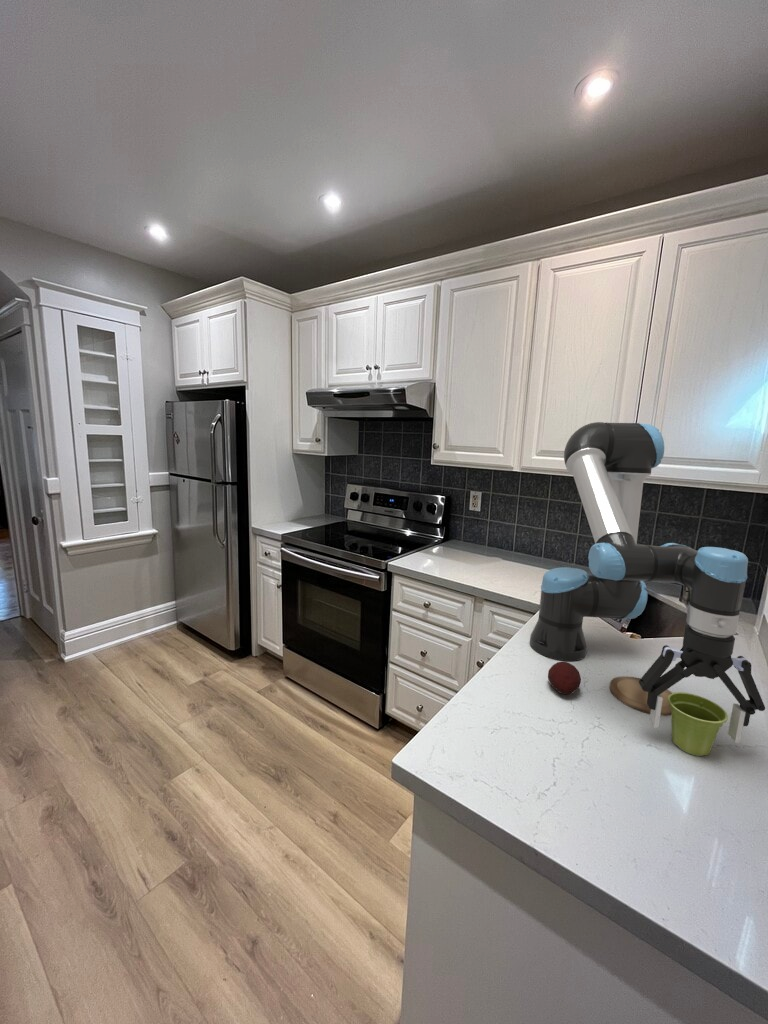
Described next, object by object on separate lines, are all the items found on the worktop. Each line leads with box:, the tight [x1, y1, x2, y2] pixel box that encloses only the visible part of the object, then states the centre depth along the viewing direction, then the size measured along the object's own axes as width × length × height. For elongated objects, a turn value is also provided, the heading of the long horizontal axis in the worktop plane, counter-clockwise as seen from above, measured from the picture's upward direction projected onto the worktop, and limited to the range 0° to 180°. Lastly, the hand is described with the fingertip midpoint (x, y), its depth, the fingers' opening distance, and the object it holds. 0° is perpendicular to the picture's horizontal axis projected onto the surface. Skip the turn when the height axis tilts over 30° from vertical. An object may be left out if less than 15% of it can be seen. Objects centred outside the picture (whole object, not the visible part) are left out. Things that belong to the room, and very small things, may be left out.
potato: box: [547, 661, 582, 695], centre depth 101 cm, size 7×10×6 cm
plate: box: [609, 675, 673, 716], centre depth 100 cm, size 14×14×1 cm
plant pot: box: [668, 691, 729, 757], centre depth 83 cm, size 9×9×9 cm
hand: (692, 731), depth 83 cm, fingers open, 13 cm apart
